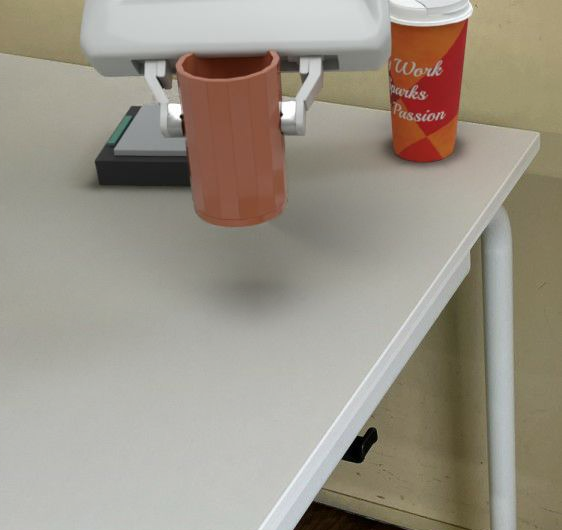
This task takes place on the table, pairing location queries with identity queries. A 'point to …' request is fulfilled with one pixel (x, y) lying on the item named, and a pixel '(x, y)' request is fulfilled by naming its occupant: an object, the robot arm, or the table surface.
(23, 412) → the table surface
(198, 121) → the cup
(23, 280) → the table surface
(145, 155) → the scale
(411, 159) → the paper cup
